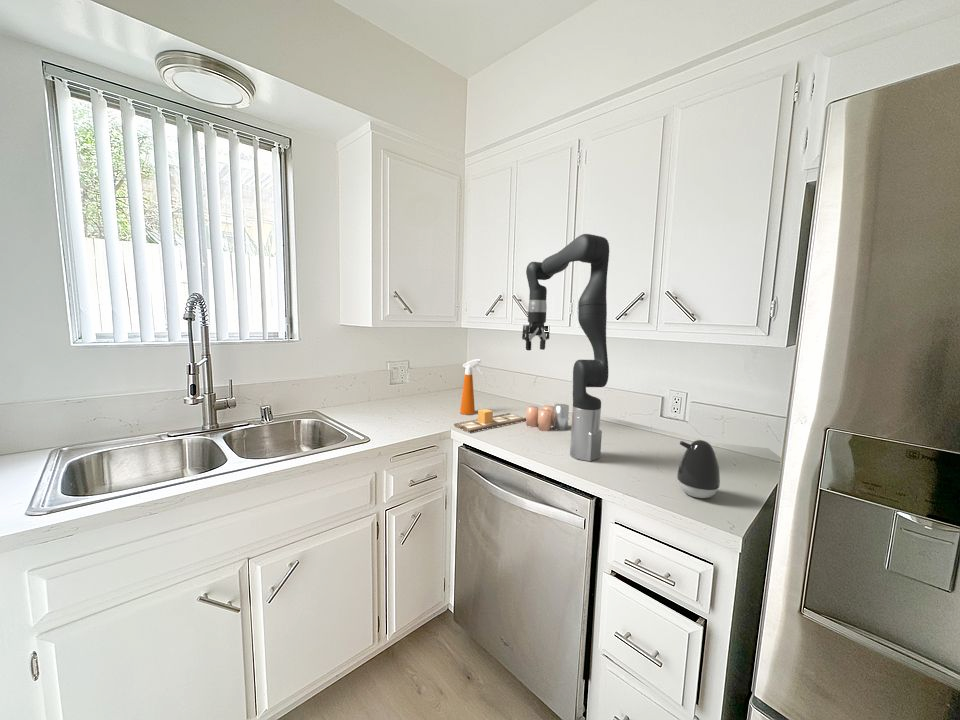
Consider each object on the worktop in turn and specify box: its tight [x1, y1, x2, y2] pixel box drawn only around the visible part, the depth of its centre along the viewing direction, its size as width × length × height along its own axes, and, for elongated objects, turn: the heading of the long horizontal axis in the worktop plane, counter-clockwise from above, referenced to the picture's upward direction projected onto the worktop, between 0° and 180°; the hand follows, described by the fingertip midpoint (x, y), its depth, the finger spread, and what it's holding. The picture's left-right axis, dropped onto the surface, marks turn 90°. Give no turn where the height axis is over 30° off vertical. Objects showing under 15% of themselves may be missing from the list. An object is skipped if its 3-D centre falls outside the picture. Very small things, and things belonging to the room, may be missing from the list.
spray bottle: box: [459, 358, 484, 416], centre depth 186 cm, size 7×11×26 cm, turn 89°
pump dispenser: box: [676, 439, 721, 499], centre depth 106 cm, size 10×10×15 cm
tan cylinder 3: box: [537, 408, 551, 432], centre depth 164 cm, size 5×5×8 cm
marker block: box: [477, 408, 494, 424], centre depth 167 cm, size 4×4×5 cm
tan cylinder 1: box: [525, 405, 540, 428], centre depth 169 cm, size 5×5×8 cm
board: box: [453, 412, 526, 433], centre depth 170 cm, size 11×32×1 cm, turn 130°
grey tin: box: [553, 403, 570, 431], centre depth 166 cm, size 6×6×10 cm
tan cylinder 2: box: [542, 404, 554, 427], centre depth 171 cm, size 5×5×8 cm
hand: (535, 349), depth 164 cm, fingers open, 8 cm apart
